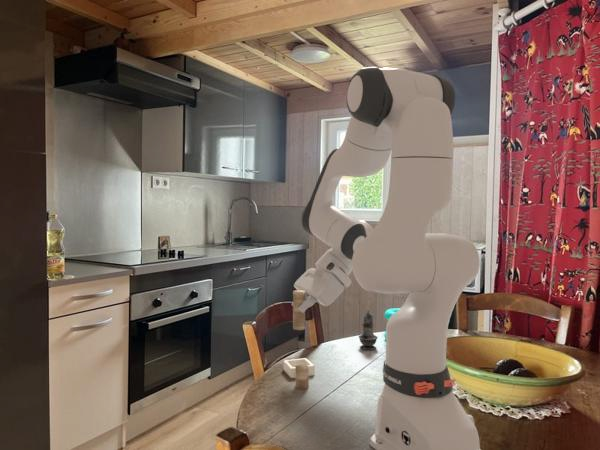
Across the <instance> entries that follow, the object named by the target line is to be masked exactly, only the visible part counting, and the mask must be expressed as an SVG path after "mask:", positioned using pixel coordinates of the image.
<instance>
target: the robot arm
mask: <svg viewBox="0 0 600 450" xmlns="http://www.w3.org/2000/svg"><path fill="white" fill-rule="evenodd" d="M350 78H351V79H350V80H349V83H348V87H347V90H346V107H347V109H348V112H349V113H350V115H351V117H350V119H349V122H348V125H347V127H346V132H345V137H344V138H343V142H341V143H342V144H341V145H340V146H339V147H336V148H334V149H333V150H331V152H330V153H329V155H328V156H327V158H326V160H325V162H324V164H323V166H322V168H321V171H320V173H319V175H318V179H317V181H316V183H315V186H314V189H313V191H312V193H311V197H310V199H309V200H308V202H307V203H306V205H305V207H304V209H303V211H302V212H301V213H302V214H301V225H302V229H303V230H304V231H305V232H306V233H308V234H309V235H311V236H312V237H315V238H317V239H319V241H321V242H323V243H324V244H326V245H327V246H328V247H331V248H329V249H327V250H326V251H325V252H324V253H323V254H322V256H321V257H320V258H319V259H318V260H317V261H316V262H315V263H314V266H315V267H310V268H308V269H307V270H306V271H304V273H303V274H301V276H299V278H297V279H296V281H295V282H294V284H293V287H294V288H295V290H303V291H305V301H304V302H303V303H300V305H299V306H298V307H297V309H298V310H299V311H300V312H302V313H304V312H305V313H306V311H307V309H309V308H311V307H312V306H314V305H315V304H316V303H317V304H320V305H322V306H323V307H328V306H330V305H332V303H334V301H336V300H337V298H338V297H339V296H340V295H341V294H342V293H343V292H344V290H345V288H347V289H348V288H349V287H350V285H352V279H350V276H349V275H350V274H351V273H352V274H353V276H354V279H355V281H356V283H358V285H359V286H360V287H361V288H362V289H364V290H365V291H367V292H372V293H379V294H385V295H396V294H408V295H407V298H406V300H405V301H404V303H403V305H402V306H401V307H400V309H399V310H398V311H397V312H395V313H394V314H393V315H392V316H391V317H390V318H389V320H387V323H386V325H385V326H386V327H385V328H386V329H385V330H386V331H385V332H386V339H385V360H384V361H383V367H382V375H383V377H382V378H383V379H382V381H383V383H384V386H383V388H382V391H381V393H380V395H379V397H378V400H377V408H376V417H375V418H376V420H375V430H374V433H373V434H372V435H371V436H370V438H369V446H370V447H372V448H373V449H374V450H482V449H481V446H480V437H479V432H478V429H477V426H476V424H475V423H476V422H475V419H474V416H473V415H471V414H467V412H466V410H465V409H464V407H463V406H462V404H461V403H460V402H459V400H458V398H457V397H456V396H455V394H454V393H453V389H454V388H453V386H454V387H455V386H456V384H455V383H454V382H456V381H457V380H456V379H455V378H454V379H451V373H450V372H449V368H448V366H447V345H448V343H447V341H448V329H449V324H450V321H451V320H450V319H451V316H452V313H453V310H454V308H455V305H456V304H457V301H458V300H459V298H460V296H461V294H462V293H463V291H465V289H466V288H467V287H468V286H469V285H470V284H471V283H472V282H473V281H474V280H475V279H476V277H477V275H478V274H479V270H480V261H481V260H480V255H479V251H478V249H477V247H476V246H475V244H474V243H473V242H472V241H471V240H470V239H469V238H466V237H464V236H460V235H456V234H452V233H451V234H450V233H445V232H440V233H439V232H436V233H435V232H434V233H426V231H427V229H428V226H429V224H430V222H431V221H432V220H433V218H434V216H435V215H437V213H438V214H439V212H441V211H442V210H444V209H445V208H446V207H447V206H448V204H449V203H450V201H451V198H452V186H453V185H452V184H453V183H452V181H453V168H454V167H453V164H454V163H453V162H454V134H453V132H454V131H453V122H452V117H451V116H452V114H453V111H454V108H455V105H456V91H455V88H454V85H453V83H452V82H451V81H450V80H449V79H446V78H444V77H442V76H439V75H436V74H427V73H423V72H418V71H413V70H409V69H406V68H405V69H404V68H397V67H396V68H394V67H393V68H391V67H390V68H389V67H383V68H380V67H379V66H368V67H363V68H362V67H361V68H360V69H358V70H357V71H356V72H355V73H354V74H353V75H352V77H350ZM389 158H390V172H389V173H390V174H389V184H388V185H389V187H388V195H387V201H386V205H385V207H384V209H383V213H382V214H381V216H380V218H379V220H378V222H377V224H376V225H375V227H373V226H372V225H371V224H370V223H368V222H367V221H365V220H363V219H359V220H358V219H357V218H354V217H353V216H351V215H350V214H348V213H346V212H344V210H341V209H339V208H338V207H337V206H336V205H335V204H334V202H333V197H334V195H335V193H336V191H337V188H338V186H339V184H340V181H341V179H342V177H351V178H353V177H354V178H365V177H370V176H374V175H376V174H378V173H379V172H380V171H381V170H383V169H384V168H385V167H386V164H387V163H388V161H389ZM291 306H292V307H293V301H292V303H291Z"/></svg>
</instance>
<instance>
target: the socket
mask: <svg viewBox="0 0 600 450" xmlns="http://www.w3.org/2000/svg"><path fill="white" fill-rule="evenodd" d="M297 365H307V366H308V367H309V377H311V376H315V365H314V364H313V363H312V361H310V360H309V359H307V357H302V358H301V357H300V358H294V359H285V360H283V370H284V372H285V373H286V374H287V376H288V377H289V378H291V379H296V366H297Z"/></svg>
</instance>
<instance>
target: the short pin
mask: <svg viewBox="0 0 600 450" xmlns="http://www.w3.org/2000/svg"><path fill="white" fill-rule="evenodd" d="M309 377H310V376H309V367H308V366H307V365H297V366H296V378H295V389H297V390H301V391H302V390H308V389H309Z"/></svg>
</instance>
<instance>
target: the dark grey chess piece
mask: <svg viewBox="0 0 600 450" xmlns="http://www.w3.org/2000/svg"><path fill="white" fill-rule="evenodd" d="M373 319H374V316H373V314H372V313H371V312H370V310H367V311H366V313H365V314H364V315H363V324H362V327H363V331H362V334H360V335H358V338H359V343H360V344H361V345H360V346H359V350H361V351H365V352H366V351H367V352H371V351H372V352H373V351H377V347H376V346H375V344H376V343H377V339H378V336H377V335H375V334H374V326H375V325H374V323H373V322H374V320H373Z"/></svg>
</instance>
